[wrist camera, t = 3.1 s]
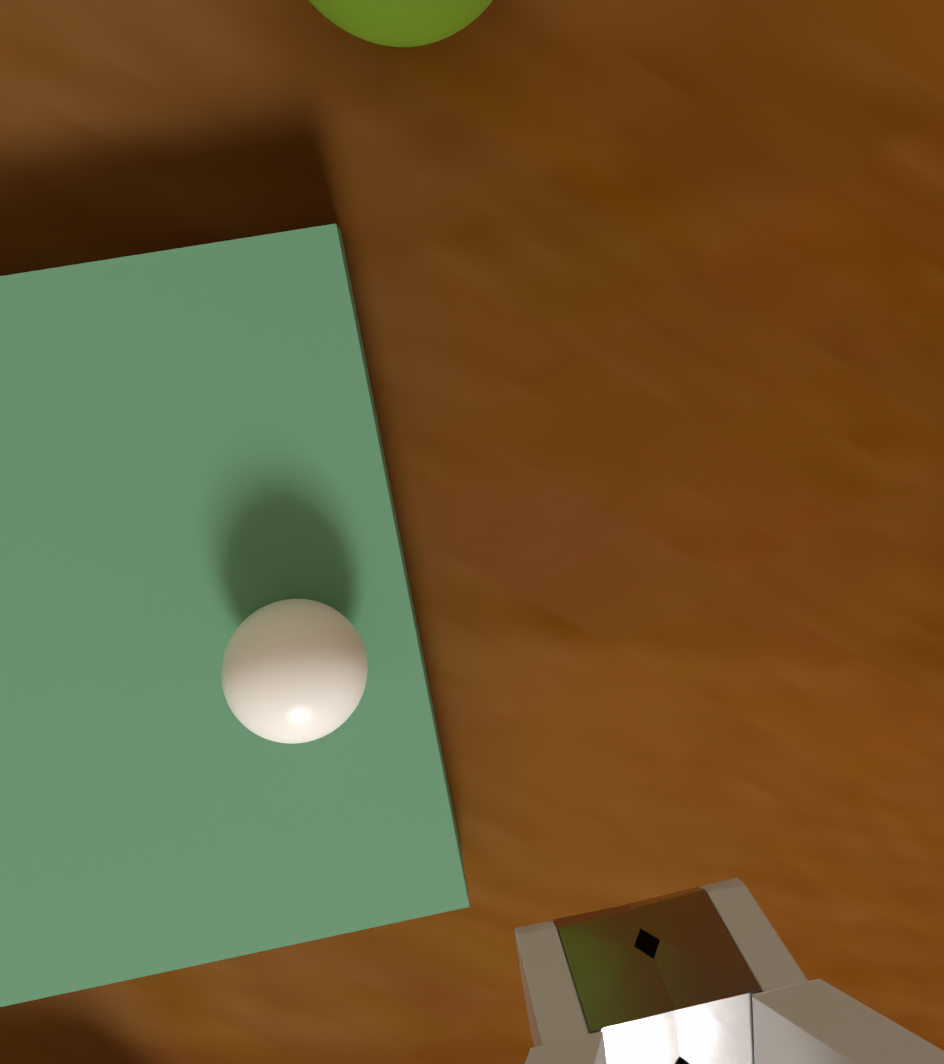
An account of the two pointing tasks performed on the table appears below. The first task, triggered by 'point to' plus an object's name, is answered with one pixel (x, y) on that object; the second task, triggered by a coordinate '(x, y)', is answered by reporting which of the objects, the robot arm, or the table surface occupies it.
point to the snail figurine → (401, 19)
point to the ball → (294, 671)
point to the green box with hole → (198, 619)
